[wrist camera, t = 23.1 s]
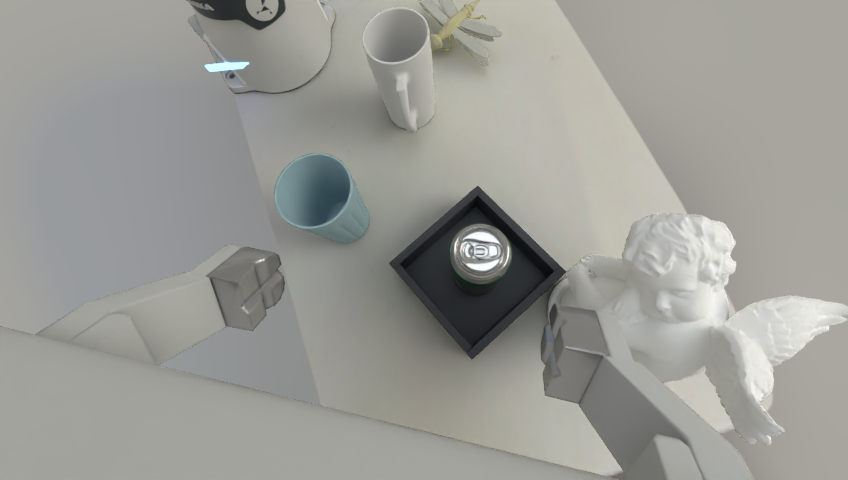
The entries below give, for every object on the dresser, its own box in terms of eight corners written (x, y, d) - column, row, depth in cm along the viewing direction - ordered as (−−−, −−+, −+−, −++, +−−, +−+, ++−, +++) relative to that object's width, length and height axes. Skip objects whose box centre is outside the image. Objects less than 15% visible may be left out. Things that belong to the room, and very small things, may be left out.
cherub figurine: (545, 261, 39) (645, 184, 18) (663, 266, 37) (929, 187, 16) (547, 376, 36) (671, 449, 15) (675, 386, 34) (1019, 483, 13)
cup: (332, 264, 41) (291, 243, 31) (308, 212, 43) (261, 177, 33) (388, 233, 42) (365, 203, 32) (361, 182, 44) (331, 139, 34)
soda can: (452, 250, 39) (448, 219, 28) (498, 251, 39) (513, 219, 27) (451, 295, 38) (447, 282, 26) (498, 297, 37) (515, 284, 26)
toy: (517, 55, 46) (523, 23, 41) (465, 95, 45) (465, 68, 40) (446, -7, 49) (444, -43, 45) (397, 29, 49) (390, -3, 44)
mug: (385, 90, 47) (360, 12, 35) (435, 83, 46) (426, 1, 34) (389, 157, 44) (363, 97, 32) (442, 151, 43) (434, 88, 32)
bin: (396, 269, 40) (388, 263, 36) (476, 200, 41) (477, 185, 37) (470, 355, 37) (472, 359, 33) (554, 278, 38) (566, 271, 34)
